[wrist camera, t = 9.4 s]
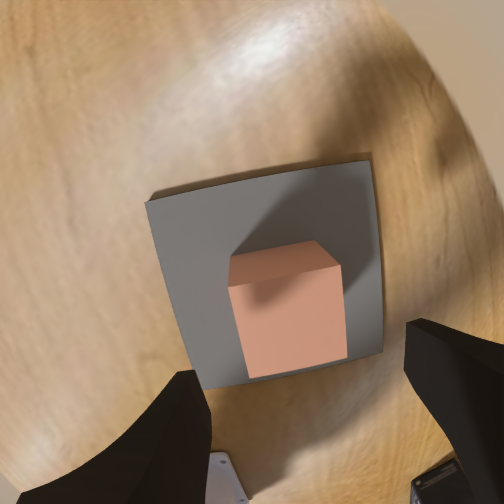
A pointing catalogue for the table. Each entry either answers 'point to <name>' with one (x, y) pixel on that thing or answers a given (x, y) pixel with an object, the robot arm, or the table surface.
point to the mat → (260, 238)
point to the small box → (442, 486)
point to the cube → (288, 308)
